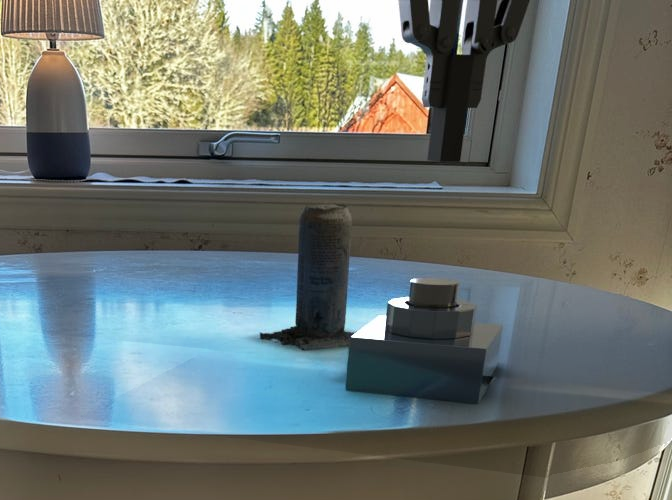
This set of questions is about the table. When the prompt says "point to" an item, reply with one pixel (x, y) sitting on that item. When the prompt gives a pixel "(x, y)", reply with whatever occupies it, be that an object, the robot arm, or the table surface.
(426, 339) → the grey stepped square block
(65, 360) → the table surface
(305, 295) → the beverage can
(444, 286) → the cylinder
